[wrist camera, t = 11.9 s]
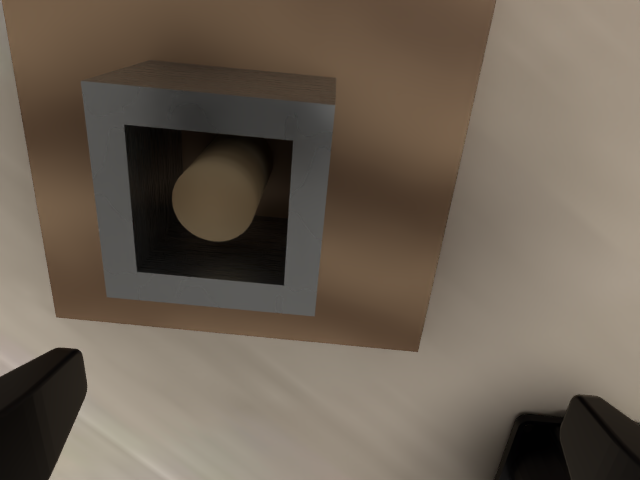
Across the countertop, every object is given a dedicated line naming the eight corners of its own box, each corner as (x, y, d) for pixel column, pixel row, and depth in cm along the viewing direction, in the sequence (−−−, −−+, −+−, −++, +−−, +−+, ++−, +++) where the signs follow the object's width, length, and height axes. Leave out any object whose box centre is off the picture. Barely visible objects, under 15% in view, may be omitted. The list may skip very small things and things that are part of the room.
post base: (414, 338, 23) (435, 431, 18) (67, 304, 23) (-9, 389, 18) (502, -68, 16) (577, -101, 11) (0, -120, 16) (-157, -177, 11)
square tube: (320, 244, 20) (314, 316, 15) (160, 229, 20) (106, 297, 15) (336, 77, 17) (335, 105, 12) (149, 59, 17) (81, 80, 12)
